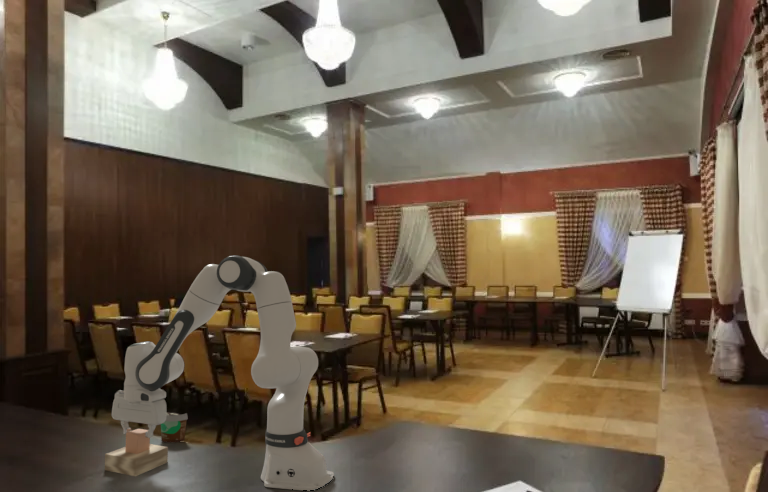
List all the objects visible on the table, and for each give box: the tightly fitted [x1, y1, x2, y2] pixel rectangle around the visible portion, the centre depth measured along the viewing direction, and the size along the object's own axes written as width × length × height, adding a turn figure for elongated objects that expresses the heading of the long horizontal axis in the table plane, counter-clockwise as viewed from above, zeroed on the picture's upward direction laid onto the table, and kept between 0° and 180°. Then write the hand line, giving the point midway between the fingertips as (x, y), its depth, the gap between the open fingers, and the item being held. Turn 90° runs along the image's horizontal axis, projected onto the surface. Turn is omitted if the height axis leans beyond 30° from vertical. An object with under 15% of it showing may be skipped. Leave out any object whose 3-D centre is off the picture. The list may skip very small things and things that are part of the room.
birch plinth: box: [104, 443, 169, 477], centre depth 172 cm, size 13×13×5 cm
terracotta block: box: [125, 428, 151, 454], centre depth 172 cm, size 5×5×6 cm
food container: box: [160, 412, 189, 443], centre depth 198 cm, size 12×6×10 cm, turn 62°
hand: (138, 435), depth 172 cm, fingers open, 8 cm apart
